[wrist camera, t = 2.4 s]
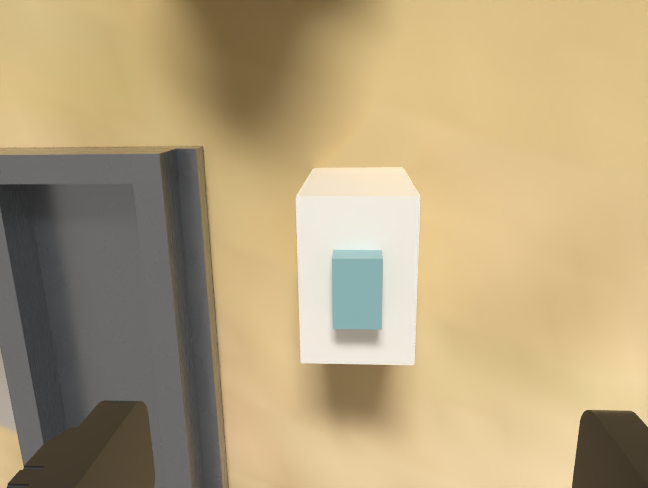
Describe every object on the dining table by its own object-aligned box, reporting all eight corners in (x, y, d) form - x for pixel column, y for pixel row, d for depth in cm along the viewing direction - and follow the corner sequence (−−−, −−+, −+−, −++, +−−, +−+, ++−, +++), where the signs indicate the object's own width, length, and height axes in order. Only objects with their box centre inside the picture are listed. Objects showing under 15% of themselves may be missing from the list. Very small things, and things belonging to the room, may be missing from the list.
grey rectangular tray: (-10, 148, 25) (-59, 155, 22) (202, 146, 24) (181, 153, 21) (61, 534, 31) (29, 580, 28) (232, 542, 30) (218, 589, 27)
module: (313, 167, 24) (292, 202, 16) (403, 167, 24) (423, 202, 16) (316, 292, 26) (297, 377, 18) (399, 293, 25) (417, 379, 18)
